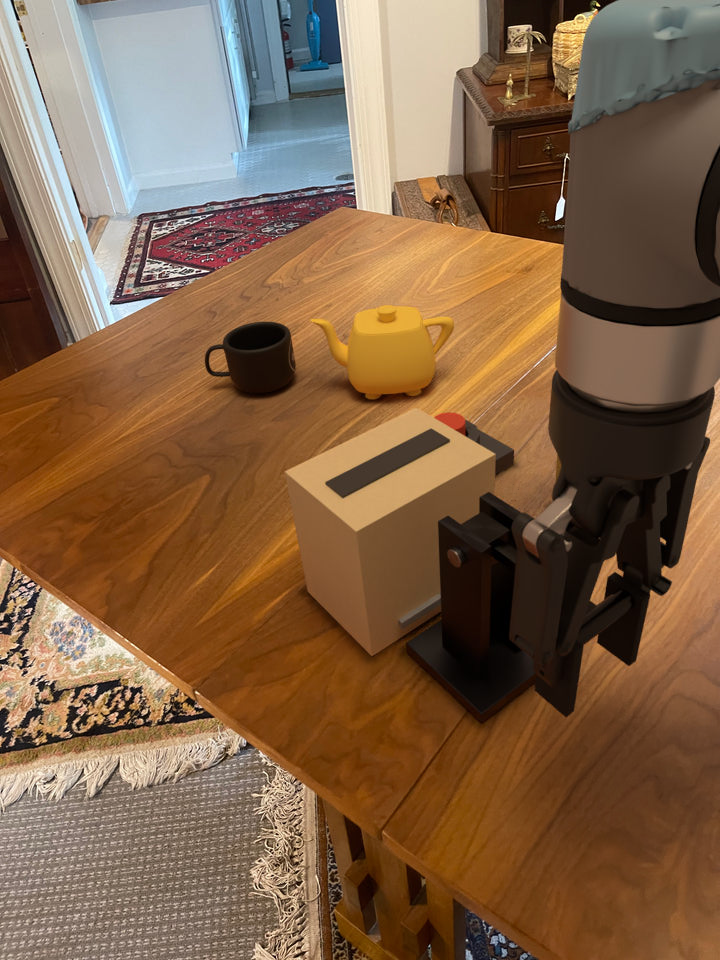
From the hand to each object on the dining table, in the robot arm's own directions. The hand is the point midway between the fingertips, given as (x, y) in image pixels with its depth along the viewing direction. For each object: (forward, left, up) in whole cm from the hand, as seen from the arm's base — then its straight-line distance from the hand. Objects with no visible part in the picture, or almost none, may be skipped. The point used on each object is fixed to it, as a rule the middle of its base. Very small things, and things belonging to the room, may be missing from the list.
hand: (586, 675), depth 49 cm
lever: (+5, 0, +5) cm, 7 cm away
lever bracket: (+10, 0, -7) cm, 12 cm away
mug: (+64, -9, -7) cm, 65 cm away
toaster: (+21, 0, -7) cm, 22 cm away
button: (+32, -16, -4) cm, 36 cm away
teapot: (+51, -22, -7) cm, 56 cm away
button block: (+32, -16, -7) cm, 36 cm away
